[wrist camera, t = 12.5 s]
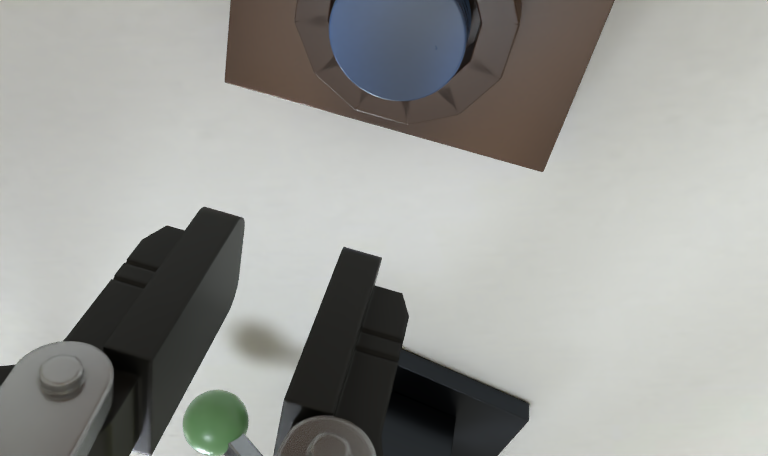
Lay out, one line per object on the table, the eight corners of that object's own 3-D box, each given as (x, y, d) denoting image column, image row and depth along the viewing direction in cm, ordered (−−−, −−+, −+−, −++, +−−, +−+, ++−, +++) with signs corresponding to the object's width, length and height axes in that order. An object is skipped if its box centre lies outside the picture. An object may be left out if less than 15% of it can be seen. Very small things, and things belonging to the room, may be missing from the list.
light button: (331, 61, 25) (318, 81, 24) (353, -67, 22) (340, -52, 21) (451, 94, 25) (445, 117, 24) (488, -29, 22) (484, -13, 21)
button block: (243, 61, 30) (206, 102, 26) (268, -213, 24) (224, -202, 20) (543, 145, 29) (542, 197, 26) (646, -110, 23) (662, -83, 20)
